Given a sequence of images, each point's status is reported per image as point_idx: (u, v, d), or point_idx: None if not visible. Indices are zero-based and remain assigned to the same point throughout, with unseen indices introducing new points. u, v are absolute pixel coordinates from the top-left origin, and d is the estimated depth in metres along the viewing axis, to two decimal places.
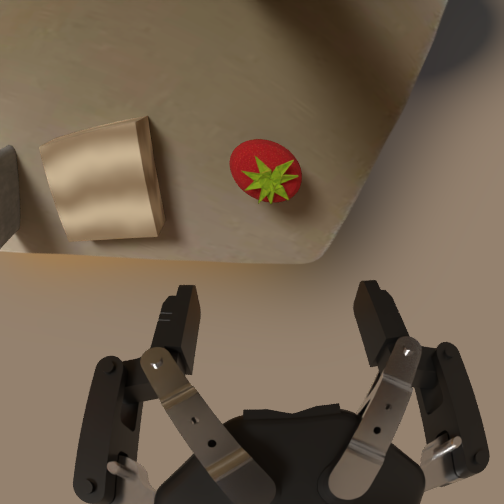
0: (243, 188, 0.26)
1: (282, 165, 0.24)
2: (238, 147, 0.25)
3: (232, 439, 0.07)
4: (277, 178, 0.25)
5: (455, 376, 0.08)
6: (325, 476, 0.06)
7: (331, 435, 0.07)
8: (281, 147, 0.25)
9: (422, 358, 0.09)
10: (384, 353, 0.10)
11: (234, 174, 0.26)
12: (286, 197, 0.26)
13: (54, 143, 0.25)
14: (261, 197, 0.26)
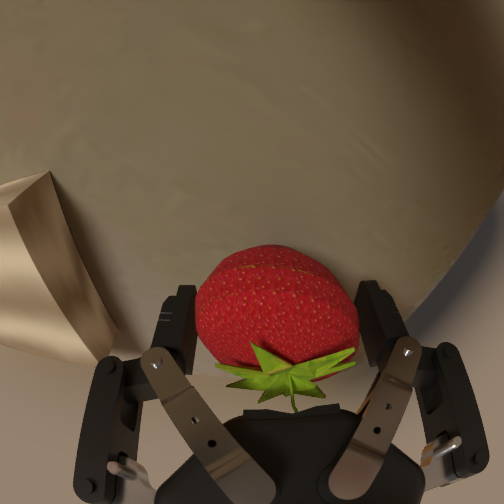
0: None
1: (323, 360, 0.09)
2: (211, 286, 0.10)
3: (232, 439, 0.07)
4: (305, 375, 0.09)
5: (455, 376, 0.08)
6: (325, 476, 0.06)
7: (331, 435, 0.07)
8: (324, 290, 0.10)
9: (422, 358, 0.09)
10: (384, 353, 0.10)
11: None
12: (320, 396, 0.10)
13: None
14: (265, 398, 0.10)
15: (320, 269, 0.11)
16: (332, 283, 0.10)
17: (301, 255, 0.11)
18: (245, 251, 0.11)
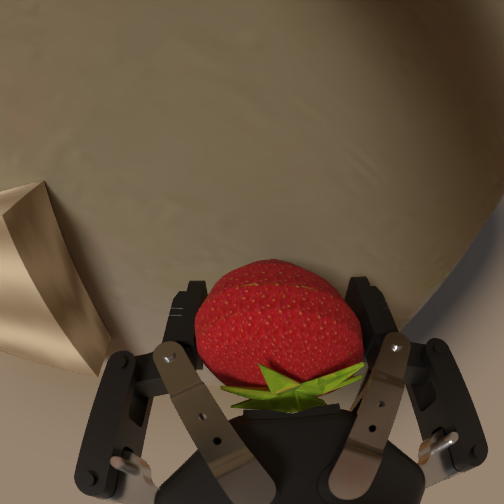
0: None
1: (332, 377, 0.08)
2: (212, 306, 0.09)
3: (237, 438, 0.07)
4: (313, 392, 0.09)
5: (446, 372, 0.08)
6: (325, 476, 0.06)
7: (331, 435, 0.07)
8: (329, 305, 0.09)
9: (411, 354, 0.09)
10: (373, 349, 0.10)
11: (207, 367, 0.10)
12: None
13: None
14: None
15: (323, 284, 0.11)
16: (336, 298, 0.10)
17: (302, 270, 0.11)
18: (245, 268, 0.11)
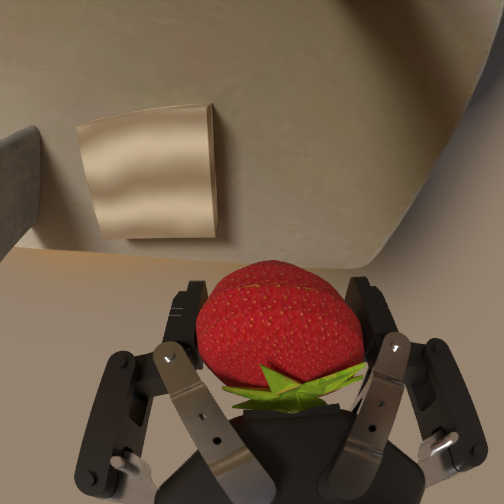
0: None
1: (333, 377, 0.08)
2: (214, 307, 0.09)
3: (237, 438, 0.07)
4: (314, 393, 0.09)
5: (447, 372, 0.08)
6: (325, 476, 0.06)
7: (331, 435, 0.07)
8: (330, 306, 0.09)
9: (411, 354, 0.09)
10: (373, 349, 0.10)
11: (209, 367, 0.10)
12: None
13: (97, 123, 0.23)
14: None
15: (323, 285, 0.11)
16: (337, 299, 0.10)
17: (303, 271, 0.11)
18: (246, 269, 0.11)
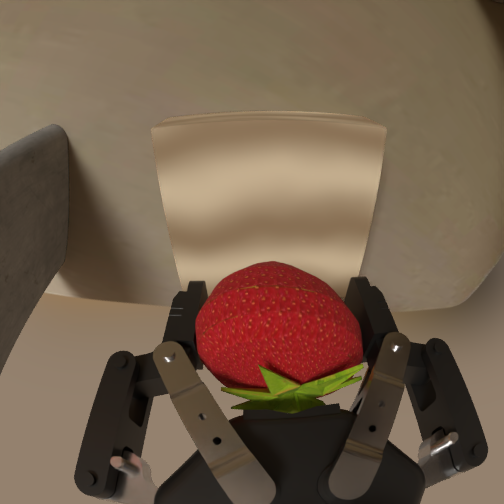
0: None
1: (331, 378, 0.08)
2: (212, 308, 0.09)
3: (237, 438, 0.07)
4: (313, 394, 0.09)
5: (446, 372, 0.08)
6: (325, 476, 0.06)
7: (331, 435, 0.07)
8: (328, 307, 0.09)
9: (411, 354, 0.09)
10: (373, 349, 0.10)
11: (208, 368, 0.10)
12: None
13: (197, 126, 0.15)
14: None
15: (322, 286, 0.11)
16: (335, 300, 0.10)
17: (302, 272, 0.11)
18: (245, 270, 0.11)
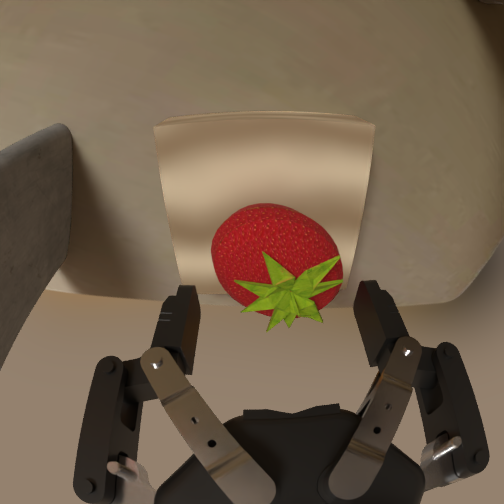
0: (238, 301, 0.14)
1: (317, 268, 0.12)
2: (227, 224, 0.13)
3: (232, 439, 0.07)
4: (305, 290, 0.13)
5: (455, 376, 0.08)
6: (325, 476, 0.06)
7: (331, 435, 0.07)
8: (310, 223, 0.13)
9: (422, 358, 0.09)
10: (384, 353, 0.10)
11: (222, 278, 0.14)
12: (318, 318, 0.14)
13: (196, 124, 0.16)
14: (273, 322, 0.13)
15: (305, 215, 0.15)
16: (316, 222, 0.14)
17: None
18: (248, 205, 0.15)
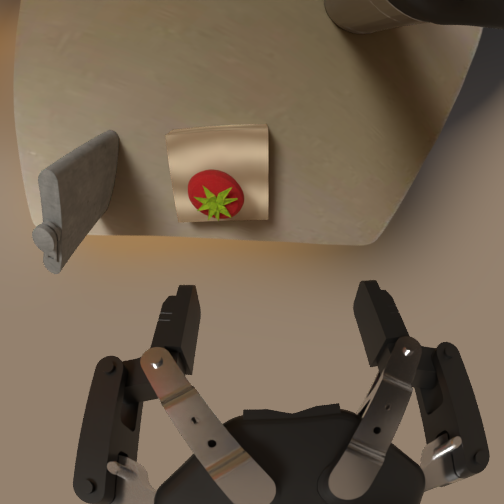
0: (197, 208, 0.34)
1: (223, 191, 0.32)
2: (192, 177, 0.33)
3: (232, 439, 0.07)
4: (220, 201, 0.33)
5: (455, 376, 0.08)
6: (325, 476, 0.06)
7: (331, 435, 0.07)
8: (225, 176, 0.33)
9: (422, 358, 0.09)
10: (384, 353, 0.10)
11: (190, 198, 0.34)
12: (229, 215, 0.34)
13: (184, 134, 0.35)
14: (209, 216, 0.34)
15: (226, 174, 0.34)
16: (229, 176, 0.34)
17: (221, 171, 0.35)
18: None
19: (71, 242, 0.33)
